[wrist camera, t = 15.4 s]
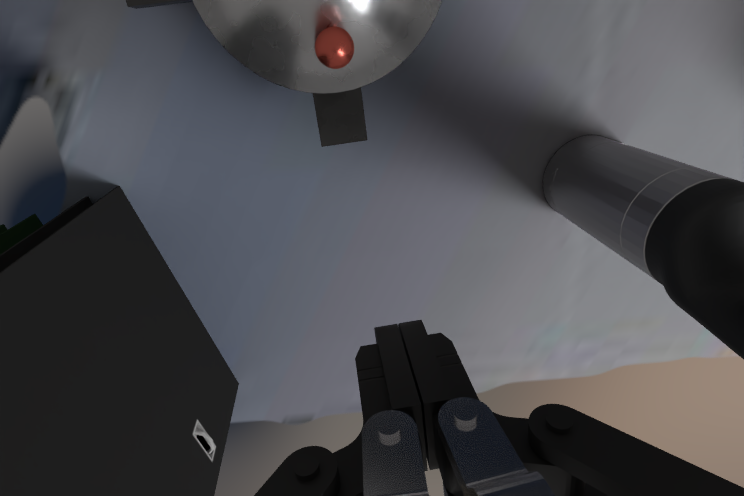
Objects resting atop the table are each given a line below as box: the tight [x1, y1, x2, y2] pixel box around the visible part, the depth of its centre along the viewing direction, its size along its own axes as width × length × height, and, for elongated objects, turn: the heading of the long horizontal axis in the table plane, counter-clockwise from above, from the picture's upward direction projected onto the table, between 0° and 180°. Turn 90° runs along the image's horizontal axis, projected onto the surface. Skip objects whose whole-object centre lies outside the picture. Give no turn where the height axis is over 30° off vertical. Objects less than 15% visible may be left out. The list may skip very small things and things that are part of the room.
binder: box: [0, 186, 239, 496], centre depth 37 cm, size 27×15×32 cm, turn 17°
